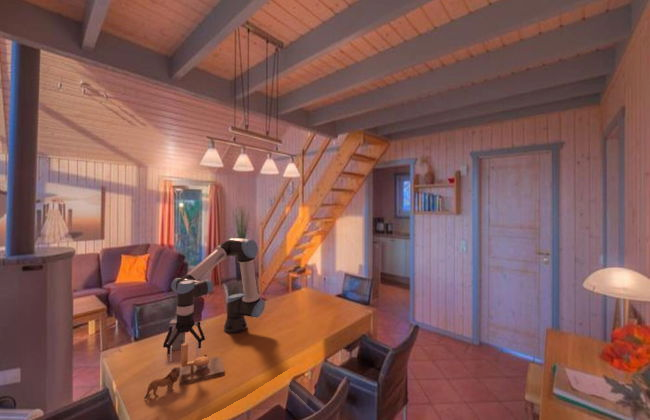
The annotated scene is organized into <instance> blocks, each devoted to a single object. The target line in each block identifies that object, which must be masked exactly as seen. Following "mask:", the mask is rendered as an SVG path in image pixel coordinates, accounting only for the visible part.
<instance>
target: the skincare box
mask: <svg viewBox="0 0 650 420" xmlns="http://www.w3.org/2000/svg"><path fill="white" fill-rule="evenodd" d="M176 323H177V318H175V319H171V320H170V321H169V324H168V327H169V326H170V325H176ZM176 331H177V329H176V328H174V330H172V333H171V335H170V338H169V340H168V343H169V342H170V340H171V339H172V337H173V336H174V335H175V333H176ZM168 343H167V344H168ZM184 343H186V332H184V333H180V334H179V335H178V336H177V338H176V339H175V341H174V342H173V344H172V345H171V346H172V351H176V350H177V351H178V350H181V345H182V344H184Z"/></svg>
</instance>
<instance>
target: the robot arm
mask: <svg viewBox="0 0 650 420" xmlns="http://www.w3.org/2000/svg"><path fill="white" fill-rule="evenodd" d="M258 252H259V246H258V244H257V242H256V241H255V240H254V239H250V238H237V237H232V238H228V239H226V240H224V241H222V242H221V243H219V244H218V245H217V246H215V247H214V249H213V251H212V252H210V254H208V256H206V257H204V259H202V260H201V261H200V262H199V263H197V265H195V266H194V267H193V268H192V269H191V270H189V272H187V273H186V274H185V275H184V276H182V277H176V278H174V279H173V280H172V282H171V283H170V284H171V285H170V287H171V290H172V291H173V292H175V293H176V319H177V323H176V325H170V326H169V325H168V332H167V335H166V337H165V339H164V341H163V346H162V347H163V348H166V349H167V351H166V353H167V355H169V362H172V357H173V356H172V355H173V350H172V346H171V345H172V344H173V342H174V341H175V339H176V338H177V336H178V335H179V334H180V333H184V332H185V333H189V332H190V333H191V335H192V336H193V337H194V338H195V340H196V348H195V349H196V350H195V351H196V352H195V353H196V357H199V349H201V348H202V342H203V341H205V340H206V337H205V334H204V331H203V329H202V327H201V322H200V320H197V321H194V314H195V313H194V309H195V304H194V303H195V299H196V298H200V297H203V296H207V295H208V294H211V293H212V292H213V290H214V284H213V282H212V281H211V280H209V279H203V278H204V277H205V276H206V275H208V274H209V273H210V271H211V270H213V269H214V268H215V267H216V266H217V265H219V263H220V262H222V260H226V259H227V258H229V257H235V258H236V262H237V263H239V269H240V274H241V275H240V276H241V283H242V291H243V293H235V294H231V295H229V296H228V297H227V301H226V320H225V323H224V326H223V330H224V332H225V333H230V334H237V333H240V332H244V331H245V330H247V328H248V323H247V321H246V317H250V318H259V317H261V315H262V314H263V312H264V311H265V307H266V306H265V305H266V302H265V300H264V299H261V294H259V293H258V286H257V280H256V272H255V265H254V260H255V259H256V257H257V255H258ZM202 279H203V280H202ZM194 326H195V327H197V330H198V333H199V334H200V335H198V334H197V332H196V331H195V329H194V328H193V327H194ZM174 328H176V329H177V331H176V333H175V335H174V336H173V337H172V339H171V340H170V342H169V343H168V340H169V338H170V335H171V333H172V330H174Z"/></svg>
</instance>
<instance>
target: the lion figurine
mask: <svg viewBox="0 0 650 420" xmlns="http://www.w3.org/2000/svg"><path fill="white" fill-rule="evenodd" d="M179 375H180V367H179V366H174V367H173V368H171V369H170V372H169V373H168V374H167V375H166V376H165V377H162V378H156V379H153V380H152V381H151V382H150V383H149V384H148V387H147V391H146V394H145V396H144V398H143V400H146V399H147V397H150V396H151V395H153V396H154V398H158V397H159V394H157V390H158V387H159V388H165V387H166V388H167V390H170V391H169V392H174V388H173V387H174V383H175V382H177V381H178V380H179ZM151 391H153V393H150V392H151Z"/></svg>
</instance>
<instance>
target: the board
mask: <svg viewBox="0 0 650 420" xmlns="http://www.w3.org/2000/svg"><path fill="white" fill-rule="evenodd" d="M204 356H205V357H208V354H207V353H204V355H203V357H204ZM221 357H222V356H217V357H211V358H209V363H208V364H206V365H203V366H195V365H194V363H191V366H187V367H182V365H181V364H179V365H178V367H180V375H179V377H178V380H179V386H181V385H186V384H190V383H194V382H198V381H202V380H207V379H211V378H215V377H219V376H223V375H225V373H226V372H225V369H224V368H225V367H224V365H223V361H222V358H221Z"/></svg>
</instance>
